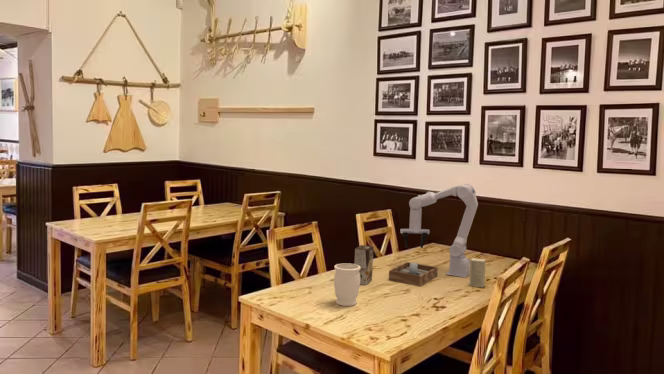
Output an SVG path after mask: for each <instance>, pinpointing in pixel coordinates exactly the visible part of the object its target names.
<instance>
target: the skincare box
mask: <svg viewBox="0 0 664 374" xmlns="http://www.w3.org/2000/svg"><path fill="white" fill-rule="evenodd" d="M485 282H486V259H484V258H474V257H472V258H471V259H470V274H469V286H470V287H475V288H484V287H485V284H486V283H485Z"/></svg>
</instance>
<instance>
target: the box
mask: <svg viewBox="0 0 664 374" xmlns="http://www.w3.org/2000/svg"><path fill="white" fill-rule="evenodd" d="M410 263H411V262H408V261H406V262H404V263H403V264H400V265H398V266H396V267H394V268H392V269H389V270H388V281H393V282H397V283H401V284H402V283H403V284H407V285H411V286H417V287H422V286H424V285H426V284H427V283H429V282H431V281H432V280H434V279H435V278H438V273H439V271H438V270H439V267H436V266H432V265H425V264H420V263H417V264H418V266H417V275H413V274H409V271H410Z"/></svg>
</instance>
